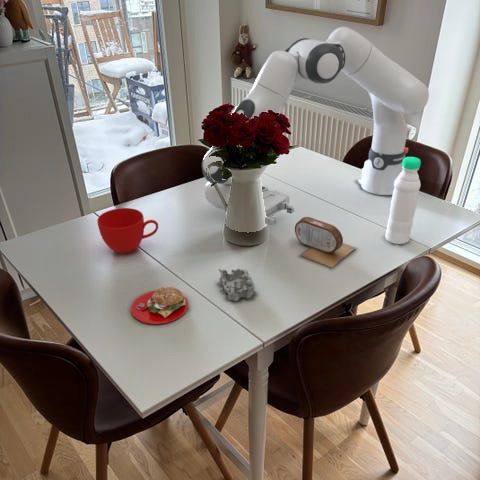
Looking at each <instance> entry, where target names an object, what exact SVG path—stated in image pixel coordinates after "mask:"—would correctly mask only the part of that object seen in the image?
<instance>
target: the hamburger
mask: <svg viewBox="0 0 480 480" xmlns="http://www.w3.org/2000/svg"><path fill="white" fill-rule="evenodd" d="M188 308H189V301H188V299H187V298H186V296H184V295H183V292H182V291H181V290H180V289H179V288H176V287H174V286H162V287H160V288H157V289H156V290H152V291H149V292H146V293H144V294H143V293H142V294H141V295H139V296H138V297H137V298H136V299H135V300H133V302H132V304H131V306H130V312H131V315H132V317H134V318H135V319H136V320H138V321H140V322H142V323H145V324H151V325H161V324H166V323H170V322H173V321H175V320H177V319H179V318H180V317H182V316H184V314H185V313H186V312H187V310H188Z"/></svg>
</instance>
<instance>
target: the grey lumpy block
mask: <svg viewBox="0 0 480 480" xmlns="http://www.w3.org/2000/svg"><path fill="white" fill-rule="evenodd" d="M218 271H219V273H220V276H219V284H220V286H222V287H223V290H224V293H225V294H227V298H228V300H229V301H233V302H239V300H240V299H242V298H247V299H251V298H252V297H253V296H254V295H255V287H256V284H255V283H254V281H253V279H252V277H251V275H250V274H249V271H248V269H247V268H237V269H231V270H230V272H228V270H226V269H221V268H219V269H218Z"/></svg>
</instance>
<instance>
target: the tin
mask: <svg viewBox="0 0 480 480" xmlns="http://www.w3.org/2000/svg"><path fill="white" fill-rule="evenodd" d="M294 234H295V238H297V240H298V241H299V242H300V243H301V244H302V245H305V246H306V247H309V248H315V249H317V250H320V251H323V252H325V253H333V252H335V251H336V250H338V249H339V248H340V247H341V246H342V244H344V237H343V234H342V232H341V231H340V229H338V228H337V226H335V225H334V224H330V223H328V222H325V221H322V220H319V219H316V218H313V217H311V216H304V217H302V218H301V219H300V220H298V221H297V222H296V223H295V225H294Z"/></svg>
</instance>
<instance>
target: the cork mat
mask: <svg viewBox="0 0 480 480" xmlns="http://www.w3.org/2000/svg"><path fill="white" fill-rule="evenodd" d="M355 250H356V248H355V247H354V246H350V245H347V244H345V243H343V244H342V246H341V247H340V248H339V249H338V250H336V251H335V252H333V253H325V252H323V251H320V250H317V249H315V248H312V247H310V249H308V250H307V251H305V252H304V253H303V254H301V257H302V258H305V259H306V260H310V261H312V262H315V263H318V264H320V265H323V266H326V267H328V268H330V269H333V268H334V267H335V266H337V265H338V264H339V263H340V262H341V261H343V260H344V259H345V258H346V257H348V255H350V254H351V253H352V252H353V251H355Z"/></svg>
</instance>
